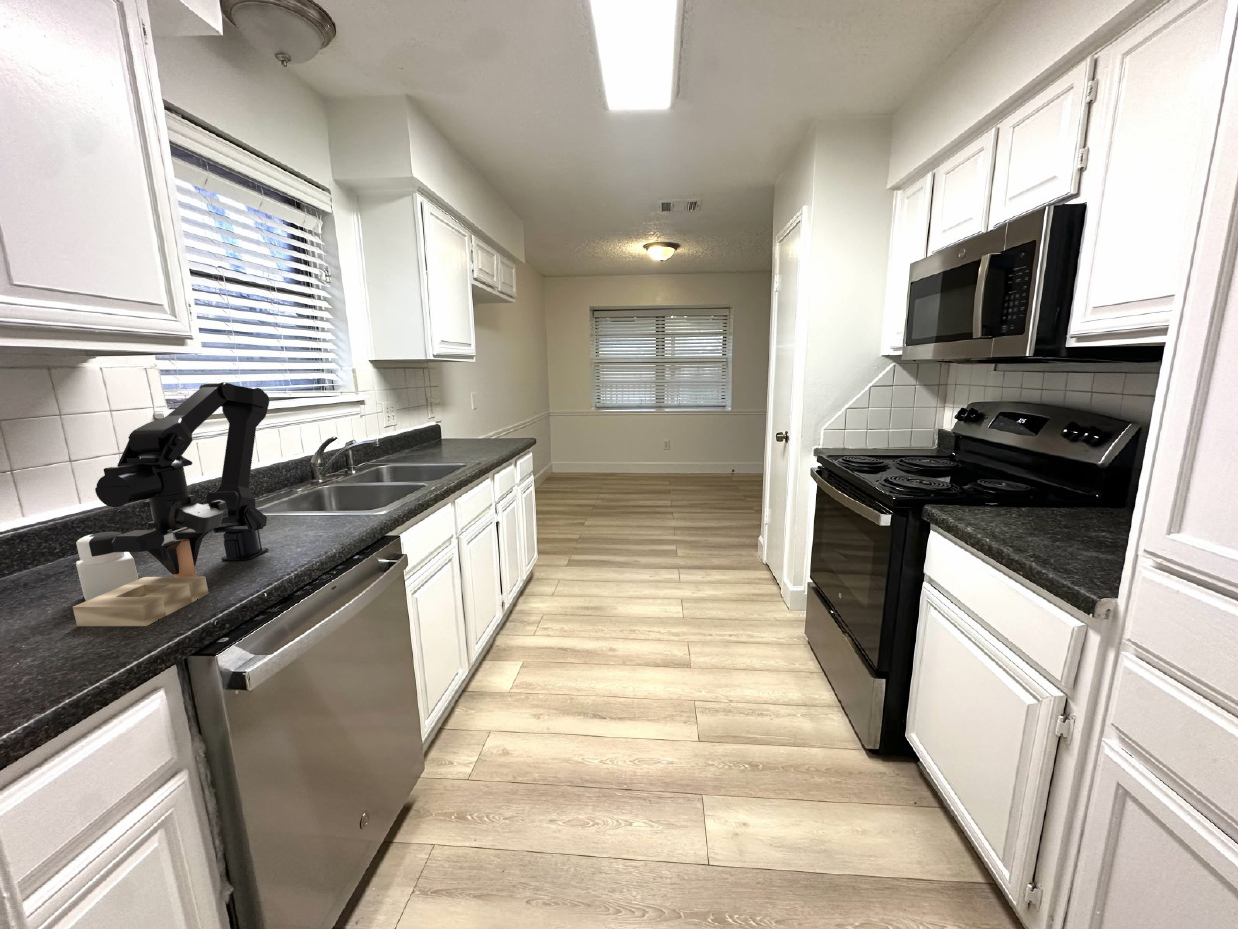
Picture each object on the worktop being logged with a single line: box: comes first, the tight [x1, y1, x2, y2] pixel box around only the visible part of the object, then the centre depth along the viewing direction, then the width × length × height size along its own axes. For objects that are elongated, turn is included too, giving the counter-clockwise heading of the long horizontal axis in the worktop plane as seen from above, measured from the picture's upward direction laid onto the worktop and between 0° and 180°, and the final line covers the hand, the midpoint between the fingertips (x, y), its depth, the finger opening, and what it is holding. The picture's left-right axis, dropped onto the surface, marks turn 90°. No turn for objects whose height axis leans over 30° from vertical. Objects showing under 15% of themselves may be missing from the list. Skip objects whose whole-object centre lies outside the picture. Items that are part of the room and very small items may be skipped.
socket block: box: [72, 575, 209, 627], centre depth 87 cm, size 12×12×4 cm
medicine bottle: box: [75, 531, 139, 601], centre depth 93 cm, size 7×7×12 cm
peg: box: [173, 539, 197, 577], centre depth 97 cm, size 3×3×9 cm
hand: (184, 570), depth 97 cm, fingers closed on peg, 3 cm apart
